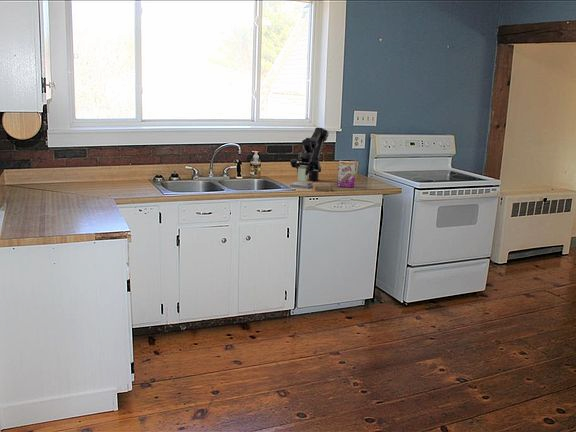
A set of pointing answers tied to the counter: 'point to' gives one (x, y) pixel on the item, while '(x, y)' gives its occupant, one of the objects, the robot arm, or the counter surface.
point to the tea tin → (302, 173)
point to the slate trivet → (302, 184)
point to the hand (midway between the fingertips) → (301, 174)
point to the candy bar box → (346, 174)
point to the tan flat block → (321, 187)
